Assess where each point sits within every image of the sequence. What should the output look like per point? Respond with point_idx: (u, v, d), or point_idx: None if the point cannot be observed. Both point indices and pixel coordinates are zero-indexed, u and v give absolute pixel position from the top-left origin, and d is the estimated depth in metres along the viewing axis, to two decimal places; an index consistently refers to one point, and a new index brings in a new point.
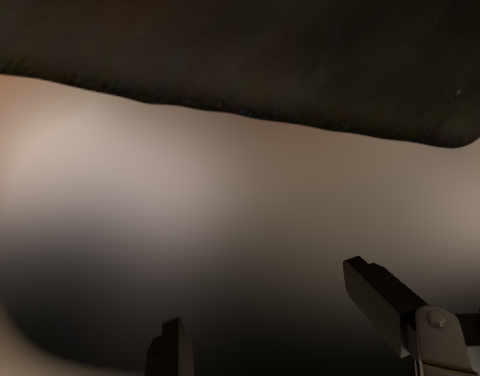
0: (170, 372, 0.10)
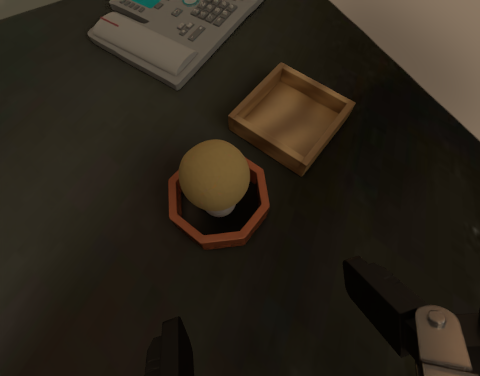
0: (170, 372, 0.10)
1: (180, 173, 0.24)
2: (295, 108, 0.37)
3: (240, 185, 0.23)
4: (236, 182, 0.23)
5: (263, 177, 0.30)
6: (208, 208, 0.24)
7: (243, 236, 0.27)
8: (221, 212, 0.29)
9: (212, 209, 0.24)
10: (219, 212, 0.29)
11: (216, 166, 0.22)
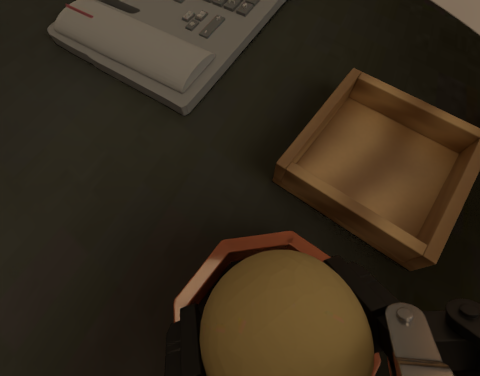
0: (191, 352, 0.10)
1: (206, 354, 0.09)
2: (381, 143, 0.22)
3: None
4: None
5: None
6: None
7: None
8: None
9: None
10: None
11: (310, 362, 0.08)
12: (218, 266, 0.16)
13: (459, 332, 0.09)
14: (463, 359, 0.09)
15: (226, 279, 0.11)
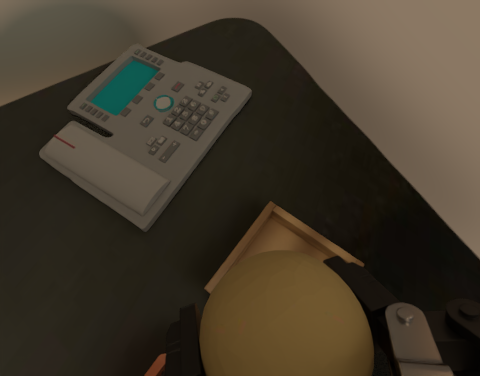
0: (191, 352, 0.10)
1: (206, 355, 0.09)
2: None
3: None
4: None
5: None
6: None
7: None
8: None
9: None
10: None
11: (310, 363, 0.08)
12: (156, 374, 0.24)
13: (459, 332, 0.09)
14: (463, 359, 0.09)
15: (226, 280, 0.11)
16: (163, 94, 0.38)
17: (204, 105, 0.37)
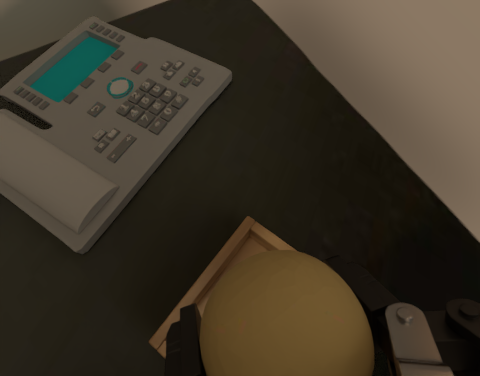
0: (191, 352, 0.10)
1: (206, 354, 0.09)
2: None
3: None
4: None
5: None
6: None
7: None
8: None
9: None
10: None
11: (310, 363, 0.08)
12: None
13: (459, 332, 0.09)
14: (463, 359, 0.09)
15: (226, 279, 0.10)
16: (120, 76, 0.30)
17: (170, 90, 0.29)
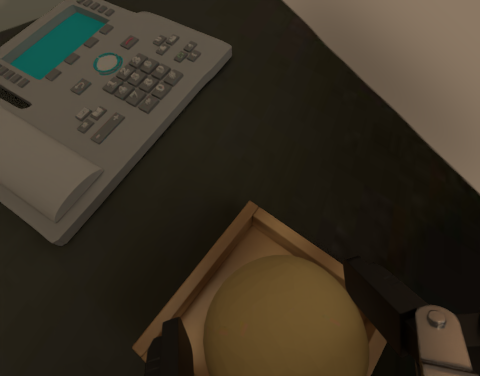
0: (170, 372, 0.10)
1: (210, 355, 0.10)
2: None
3: None
4: None
5: None
6: None
7: None
8: None
9: None
10: None
11: (308, 363, 0.09)
12: None
13: None
14: None
15: (228, 284, 0.11)
16: (108, 52, 0.27)
17: (163, 65, 0.26)
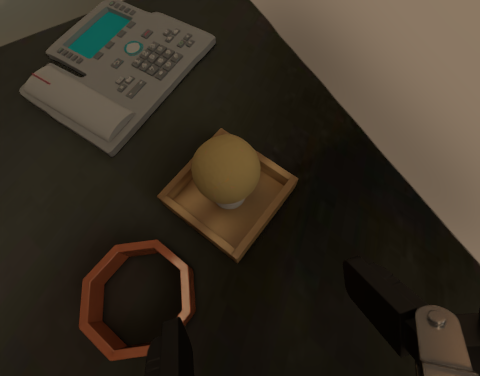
0: (170, 372, 0.10)
1: (193, 167, 0.25)
2: None
3: (251, 178, 0.24)
4: (248, 176, 0.24)
5: (187, 275, 0.27)
6: (221, 201, 0.25)
7: None
8: (232, 205, 0.30)
9: (224, 202, 0.25)
10: (230, 205, 0.30)
11: (228, 160, 0.23)
12: (111, 260, 0.28)
13: None
14: None
15: (202, 144, 0.26)
16: (133, 40, 0.41)
17: (170, 49, 0.40)
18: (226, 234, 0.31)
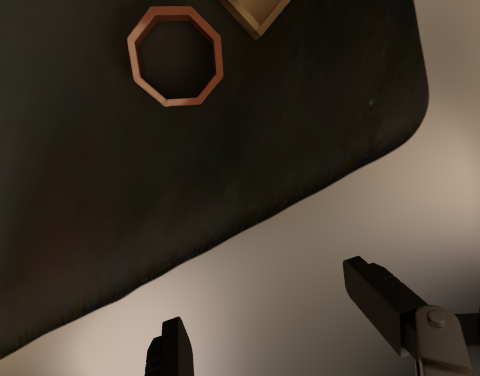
0: (170, 372, 0.10)
1: None
2: None
3: None
4: None
5: (220, 45, 0.32)
6: None
7: (199, 102, 0.34)
8: None
9: None
10: None
11: None
12: (149, 22, 0.30)
13: None
14: None
15: None
16: None
17: None
18: (248, 10, 0.34)
